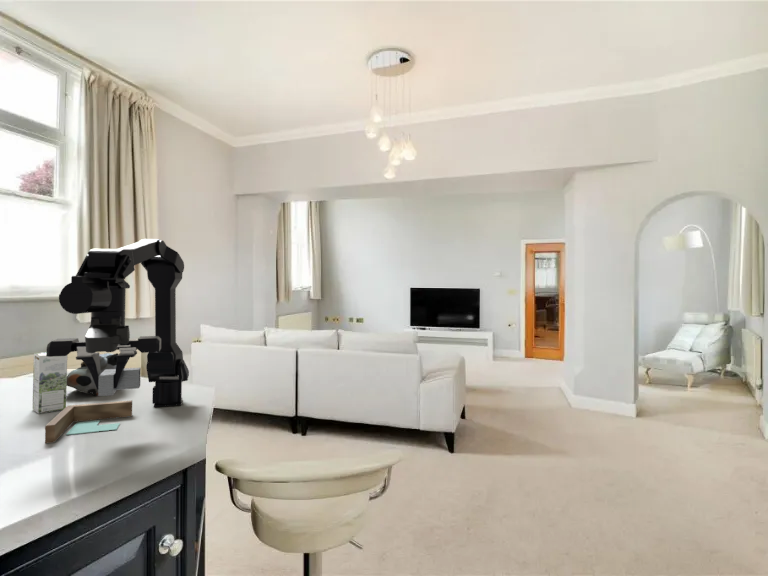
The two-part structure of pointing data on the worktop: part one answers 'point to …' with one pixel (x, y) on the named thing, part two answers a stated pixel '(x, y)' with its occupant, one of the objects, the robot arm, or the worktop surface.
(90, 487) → the worktop surface
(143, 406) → the worktop surface
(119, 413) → the corner wall
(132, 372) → the bracket
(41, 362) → the syrup box
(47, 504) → the worktop surface
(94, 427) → the mat
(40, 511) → the worktop surface
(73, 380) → the lucky cat figurine
